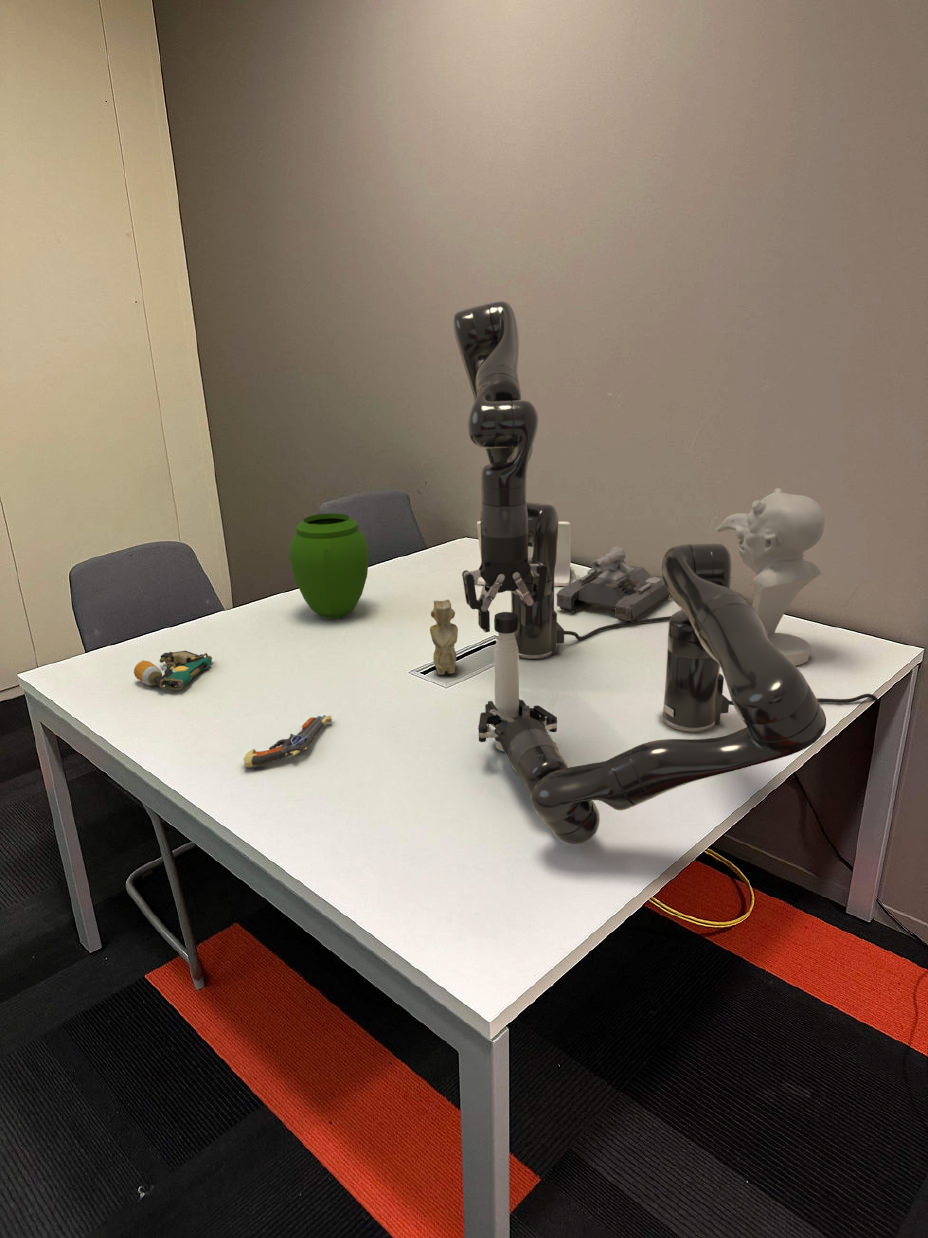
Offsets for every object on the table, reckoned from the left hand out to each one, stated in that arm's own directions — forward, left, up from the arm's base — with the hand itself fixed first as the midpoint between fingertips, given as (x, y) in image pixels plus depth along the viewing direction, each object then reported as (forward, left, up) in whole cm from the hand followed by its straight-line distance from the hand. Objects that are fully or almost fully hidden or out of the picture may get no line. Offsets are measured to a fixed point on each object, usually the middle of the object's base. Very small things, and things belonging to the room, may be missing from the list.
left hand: (505, 627), depth 141 cm
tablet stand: (-29, -93, -22) cm, 100 cm away
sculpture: (+5, -34, -22) cm, 41 cm away
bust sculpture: (-63, -27, -22) cm, 72 cm away
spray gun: (+60, -46, -22) cm, 79 cm away
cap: (0, 0, +2) cm, 2 cm away
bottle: (0, 0, -22) cm, 22 cm away
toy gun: (+37, -10, -22) cm, 44 cm away
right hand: (0, -3, -15) cm, 16 cm away
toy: (-44, -63, -22) cm, 80 cm away
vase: (+26, -75, -22) cm, 83 cm away
